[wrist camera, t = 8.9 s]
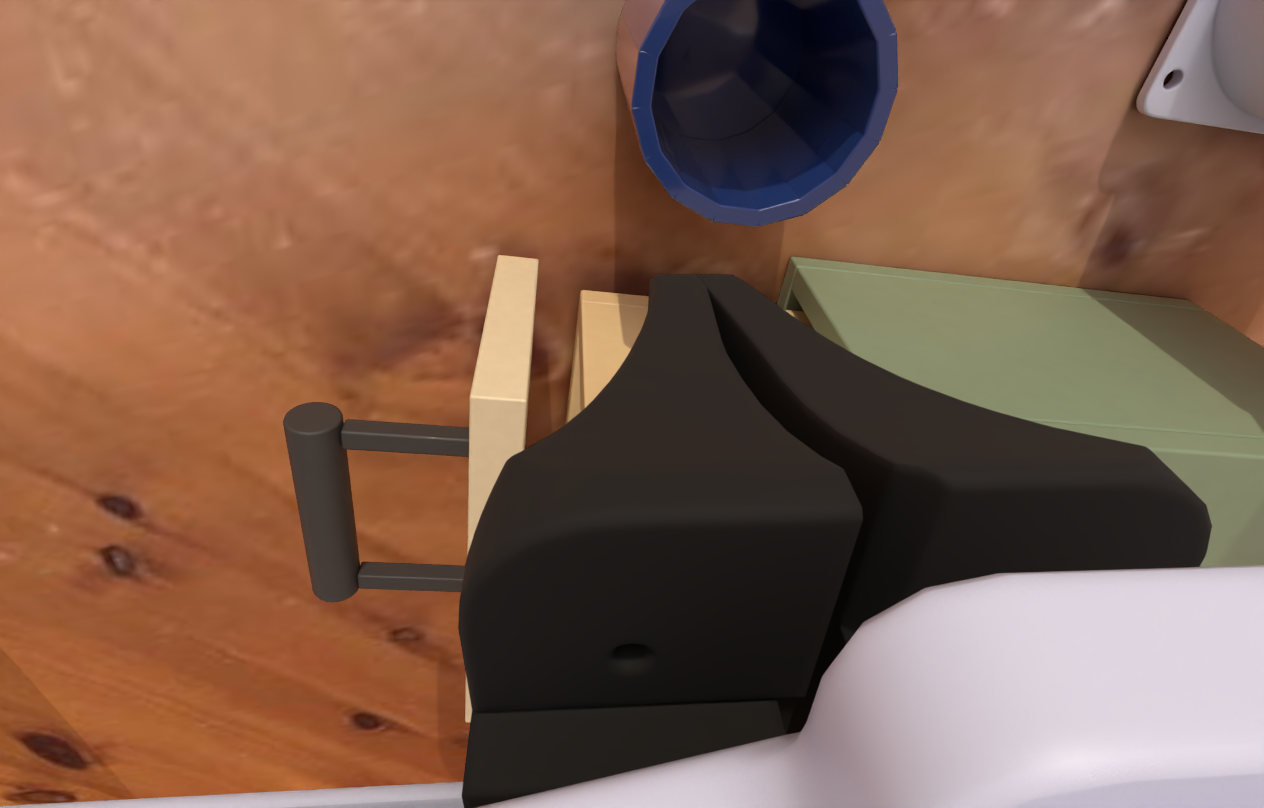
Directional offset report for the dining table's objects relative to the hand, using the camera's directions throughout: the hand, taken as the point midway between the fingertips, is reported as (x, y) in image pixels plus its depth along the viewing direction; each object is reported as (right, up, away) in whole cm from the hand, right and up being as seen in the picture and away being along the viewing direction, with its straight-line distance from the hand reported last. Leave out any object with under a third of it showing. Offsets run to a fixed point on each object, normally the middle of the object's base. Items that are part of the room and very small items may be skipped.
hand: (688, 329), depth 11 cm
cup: (+1, +8, +7) cm, 11 cm away
